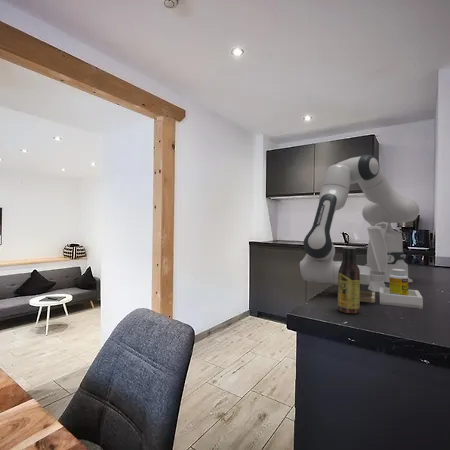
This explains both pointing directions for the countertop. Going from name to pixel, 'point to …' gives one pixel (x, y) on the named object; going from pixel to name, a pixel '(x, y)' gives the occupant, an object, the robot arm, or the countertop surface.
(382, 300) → the tray
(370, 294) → the wooden frame
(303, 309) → the countertop surface
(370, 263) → the skyscraper
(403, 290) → the supplement bottle
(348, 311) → the sauce bottle
